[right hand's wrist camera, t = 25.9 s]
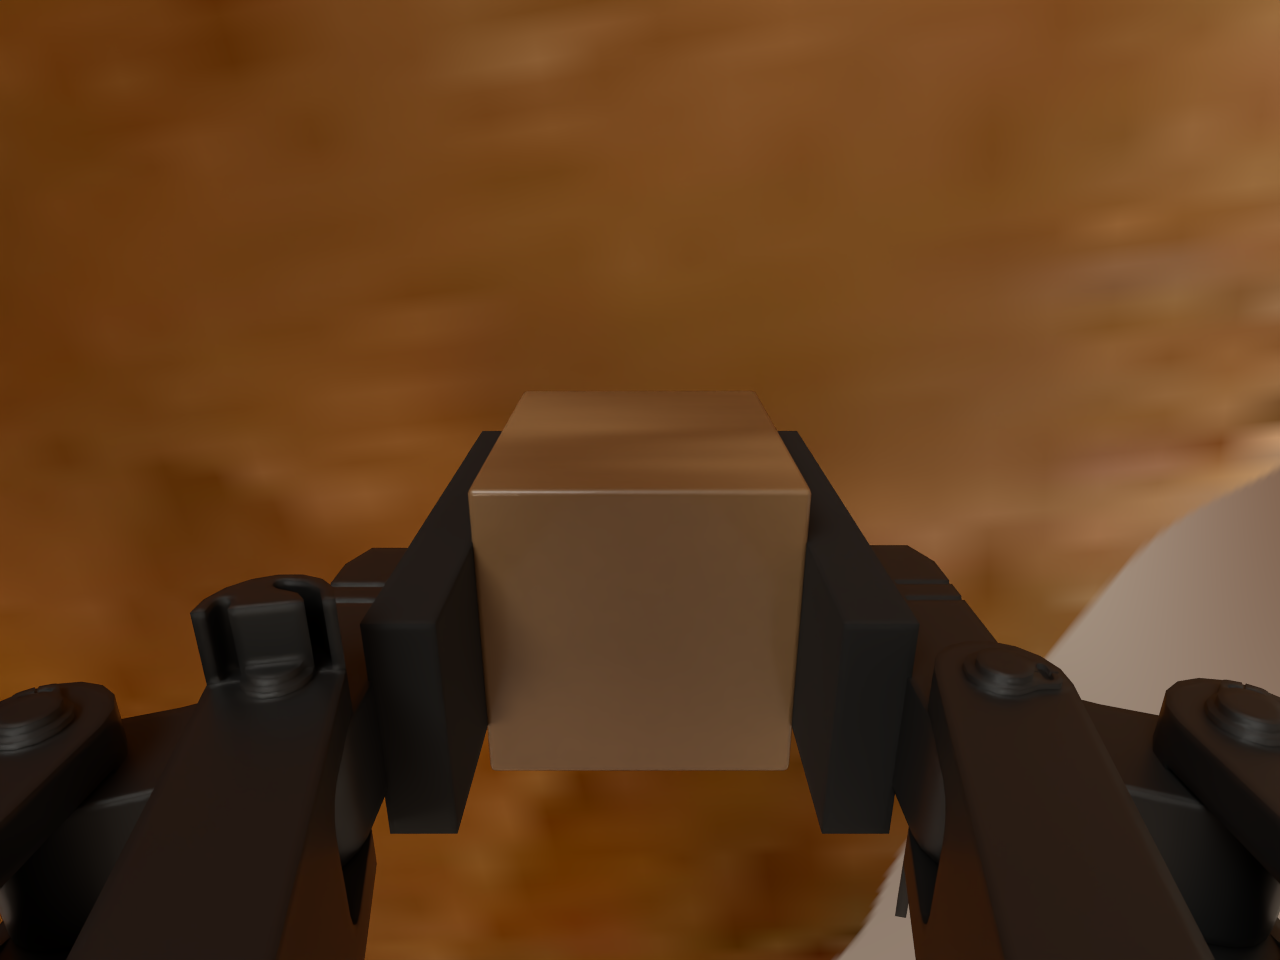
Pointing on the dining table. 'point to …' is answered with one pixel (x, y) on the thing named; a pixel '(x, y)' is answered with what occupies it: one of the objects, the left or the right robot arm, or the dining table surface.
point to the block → (639, 582)
